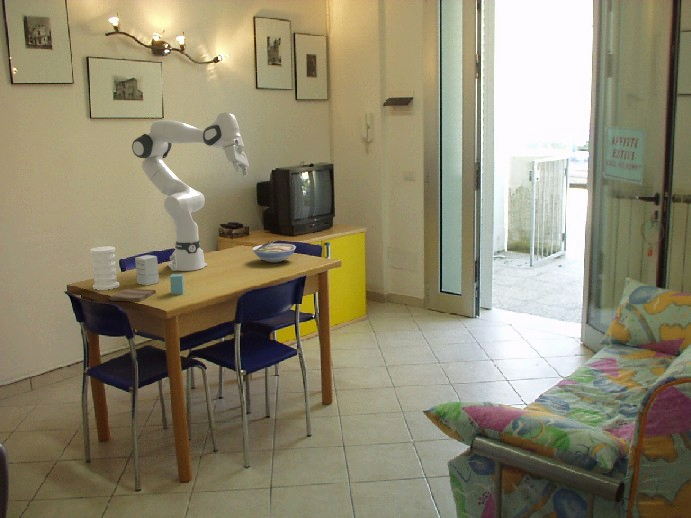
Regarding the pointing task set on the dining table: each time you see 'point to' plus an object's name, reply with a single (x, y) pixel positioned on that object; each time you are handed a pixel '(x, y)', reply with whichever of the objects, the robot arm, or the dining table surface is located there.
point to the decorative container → (104, 268)
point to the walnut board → (132, 295)
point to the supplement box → (147, 270)
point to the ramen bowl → (274, 251)
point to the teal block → (177, 284)
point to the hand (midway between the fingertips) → (242, 173)
